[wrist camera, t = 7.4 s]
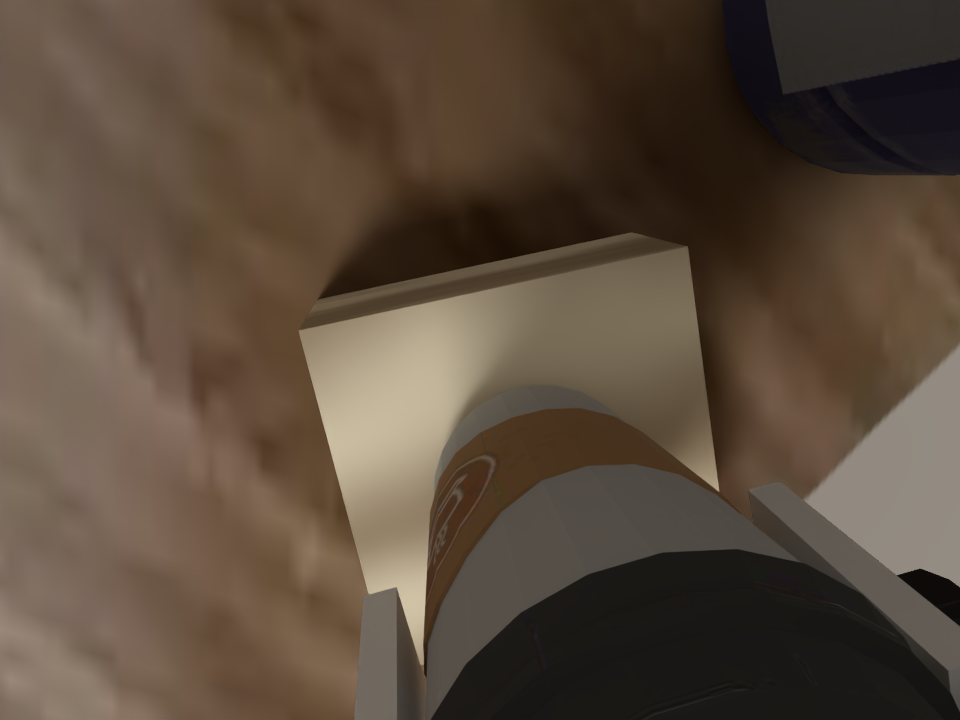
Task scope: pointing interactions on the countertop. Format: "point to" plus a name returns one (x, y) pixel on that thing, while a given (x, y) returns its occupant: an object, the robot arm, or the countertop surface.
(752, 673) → the coffee cup
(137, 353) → the countertop surface
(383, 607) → the robot arm
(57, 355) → the countertop surface
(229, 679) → the countertop surface
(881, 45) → the grenade
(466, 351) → the maple block
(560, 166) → the countertop surface
